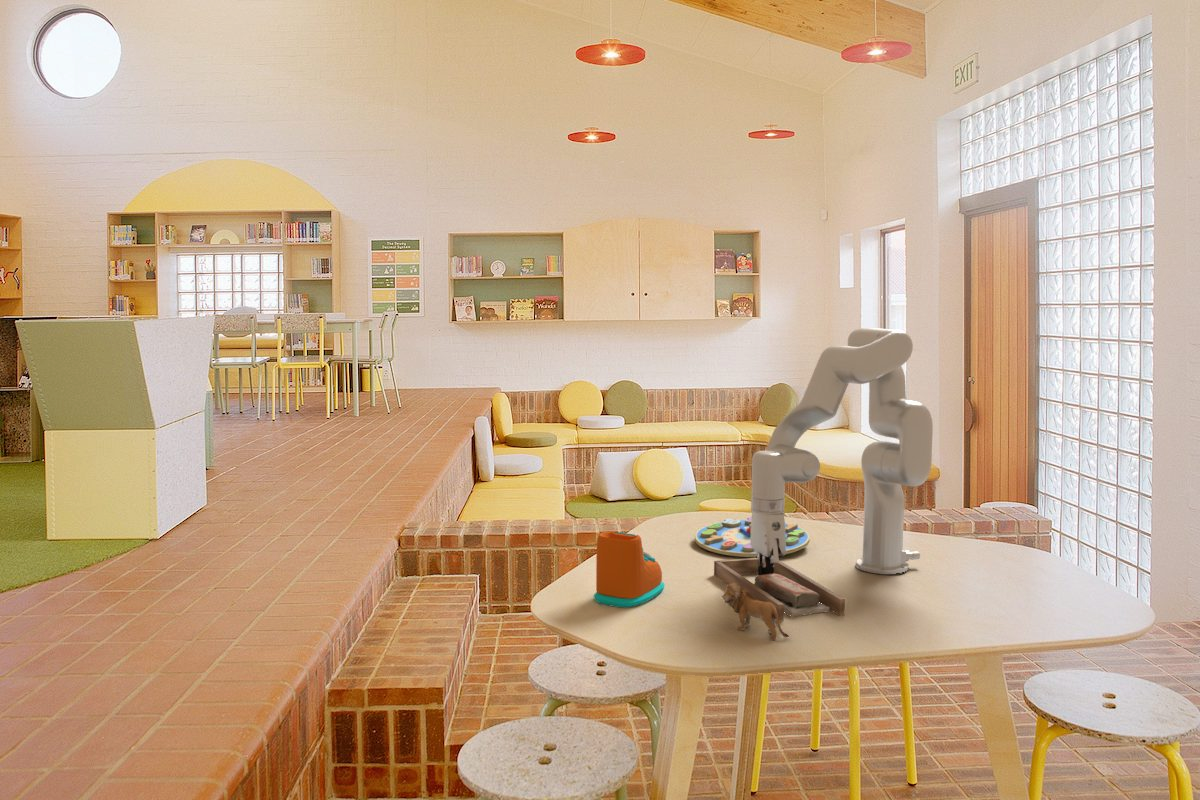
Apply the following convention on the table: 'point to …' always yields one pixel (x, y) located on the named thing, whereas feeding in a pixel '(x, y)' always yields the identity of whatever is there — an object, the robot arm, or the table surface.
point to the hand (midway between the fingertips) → (765, 582)
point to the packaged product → (791, 594)
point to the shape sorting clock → (743, 538)
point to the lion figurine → (751, 608)
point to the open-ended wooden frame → (734, 568)
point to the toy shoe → (625, 571)
